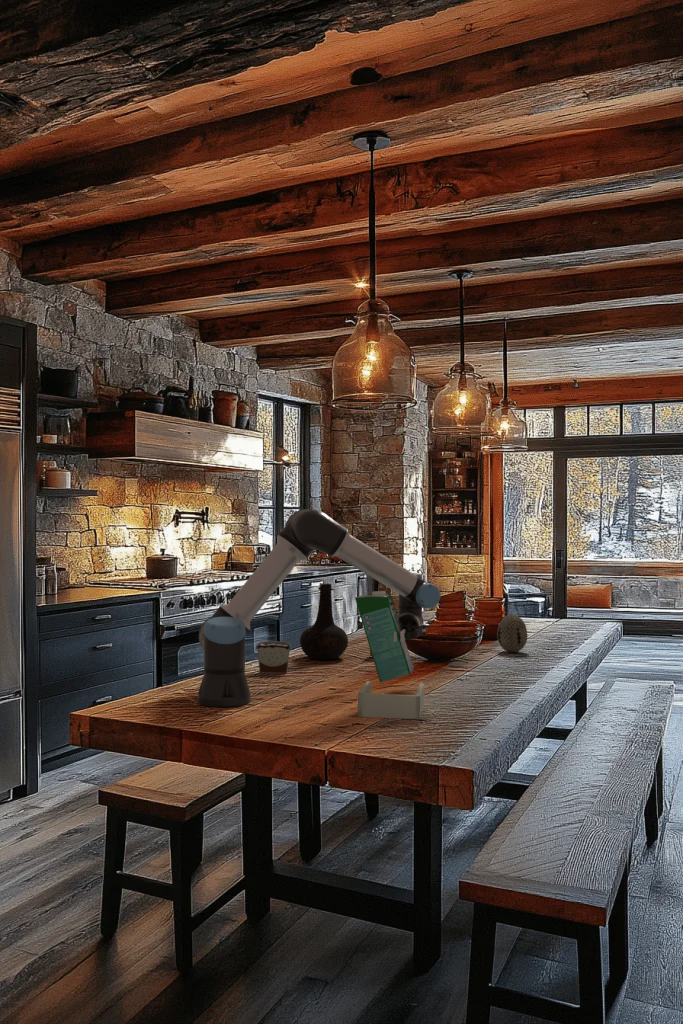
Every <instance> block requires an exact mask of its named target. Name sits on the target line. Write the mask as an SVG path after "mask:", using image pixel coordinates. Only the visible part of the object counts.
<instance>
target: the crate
mask: <svg viewBox="0 0 683 1024" xmlns="http://www.w3.org/2000/svg"><path fill="white" fill-rule="evenodd" d="M415 693H416V694H412V695H411V694H392V693H391V694H390V693H372V681H370V680H369V681H368V680H367V681H366V682H365V684H364V685H363V687H362V688H361V689H360V690H359V692H358V693H357V717H359V718H360V717H364V718H366V717H367V718H380V719H381V718H384V719H385V718H386V719H402V720H404V719H405V720H421V717H422V714H423V711H424V708H423V707H425V683H419V685H418V688H417V691H416V692H415Z"/></svg>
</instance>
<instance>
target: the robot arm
mask: <svg viewBox="0 0 683 1024" xmlns="http://www.w3.org/2000/svg"><path fill="white" fill-rule="evenodd" d="M348 529H349V528H347V527H345V526H343V525H342V524H340V523H339V522H337V521H336V520H334V519H333V518H332V517H330V516H329V515H328V514H326V513H325V512H323V511H321V510H318V509H308V508H305V509H299V510H297V511H296V512H293V513H292V514H290V516H289V517H288V519H287V520H286V522H285V526H284V527H283V528H282V529H281V530H280V532H279V533H278V534H277V535H276V539H277V543H276V544H275V546H273V548H272V550H271V551H270V552H269V553H268V555H267V556H266V557H265V558H264V559H263V560H262V562H261V563H260V564H259V565H258V566H257V568H256V569H255V570H254V572H253V573H252V574H251V575H250V576H249V578H248V579H247V580H246V581H245V583H243V585H242V586H241V587H240V589H239V590H238V591H237V592H236V594H235V595H234V596H233V597H232V598H231V600H230V601H229V602H228V603H227V604H221V605H219V607H218V608H217V609H216V611H215V612H214V613H213V614H212V615H211V616H210V617H208V618H207V619H206V620H204V621H203V623H202V624H201V626H200V627H199V633H198V641H199V645H200V647H201V648H202V650H203V677H202V679H201V683H200V686H199V689H198V692H197V696H196V697H197V698H196V699H197V704H199V705H202V706H204V707H205V706H206V707H213V708H214V707H215V708H216V707H218V708H225V707H226V708H227V707H228V708H229V707H238V706H243V705H247V704H249V703H250V702H251V701H252V697H251V696H252V694H251V691H250V686H249V683H248V680H247V677H246V663H245V662H246V635H247V634H248V633H249V631H250V630H251V621H253V619H254V617H255V616H256V615H257V614H258V612H259V611H260V610H261V609H262V607H263V606H264V605H265V604H266V602H267V601H269V599H270V597H271V596H272V595H273V594H274V593H275V591H276V590H277V588H279V586H280V585H281V584H282V582H283V581H284V580H285V579H286V578H287V576H289V574H290V573H291V571H292V570H293V569H294V567H295V566H296V565H297V564H298V563H299V562H300V561H307V559H308V558H309V557H310V556H311V555H312V553H313V552H314V550H316V551H319V552H321V553H324V554H326V555H328V556H329V557H331V558H332V557H337V558H339V559H340V560H342V561H343V562H345V563H347V564H349V565H350V566H352V567H353V568H355V569H357V570H358V571H360V572H362V573H363V574H365V575H368V576H369V577H370V578H372V579H373V580H375V581H377V582H378V583H380V584H382V585H384V586H385V587H387V588H389V589H390V590H392V591H394V592H395V593H397V594H398V619H399V622H400V625H401V629H402V631H401V632H400V642H403V641H404V640H405V641H409V640H411V639H417V638H419V637H421V636H423V635H426V633H427V625H425V624H424V618H423V609H432V608H435V607H436V606H437V605H438V604H439V602H440V600H441V592H440V589H439V587H438V586H436V585H435V584H433V583H432V582H428V581H426V580H424V579H423V575H422V574H421V573H416V572H411V571H409V569H406V568H405V567H403V566H402V565H400V564H398V563H397V562H395V561H394V560H392V559H390V558H388V557H387V556H386V555H383V553H380V552H379V551H377V550H376V549H374V548H373V547H371V546H369V545H367V544H366V543H364V542H363V541H361V540H359V539H357V538H356V537H354V536H353V535H351V534H350V533H349V530H348ZM394 642H397V632H394Z"/></svg>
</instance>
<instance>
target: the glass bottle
mask: <svg viewBox="0 0 683 1024" xmlns="http://www.w3.org/2000/svg"><path fill="white" fill-rule="evenodd" d="M317 589H318V590H319V601H318V608H317V614H316V620H315V622H314V623H313V624H312V625H311V626H309V627H307V628H306V629H305V630H304V631H302V633H301V635H300V638H299V645H300V648H301V650H302V652H303V653H304V654H305V655H306V656H307V657H309V658H311V659H314V660H319V659H322V660H323V661H329V660H330V659H332V660H336V659H338V658H340V657H341V656H342V655H343V654H344V653H345V652H346V650H347V647H348V646H349V645H348V644H349V638H348V634H347V633H346V631H345V630H344V629H343V628H341V627H340V626H338V625H336V623H335V620H334V616H333V615H334V614H333V602H332V599H333V598H332V591H333V590H335V589H334V587H332V583H320V584H319V587H318V588H317ZM322 660H321V661H322Z"/></svg>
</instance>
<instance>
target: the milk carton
mask: <svg viewBox="0 0 683 1024" xmlns="http://www.w3.org/2000/svg"><path fill="white" fill-rule="evenodd" d="M354 599H355V602H356V606H357V610H358V613H359V616H360V619H361V623H362V626H363V630H364V634H365V636H366V639H367V644H368V646H369V651H370V650H371V653H372V657H373V658H372V660H373V663H374V666H375V670H376V674H377V677H378V680H379V682H380V683H383V682H387V681H390V680H393V679H397V678H400V677H406V676H408V675H411V674H412V672H413V671H414V666H413V662H412V660H411V659H412V658H411V656H410V652H409V649H408V645H407V643H406V640H404V641H403V642H400V632H401V631H402V629H401V625H400V622H399V619H398V617H399V614H398V613H397V608H396V606H395V602H394V600H393V596H392V594H387V593H386V591H385V590H379V591H378V590H377V591H371V594H367V595H366V594H365V595H364V594H363V595H358V596H355V597H354ZM394 632H397V642H394Z"/></svg>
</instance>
